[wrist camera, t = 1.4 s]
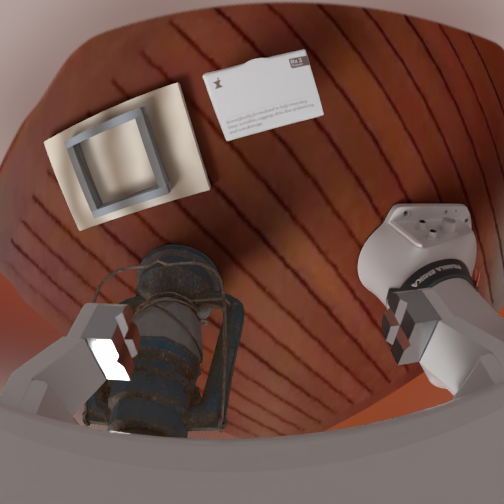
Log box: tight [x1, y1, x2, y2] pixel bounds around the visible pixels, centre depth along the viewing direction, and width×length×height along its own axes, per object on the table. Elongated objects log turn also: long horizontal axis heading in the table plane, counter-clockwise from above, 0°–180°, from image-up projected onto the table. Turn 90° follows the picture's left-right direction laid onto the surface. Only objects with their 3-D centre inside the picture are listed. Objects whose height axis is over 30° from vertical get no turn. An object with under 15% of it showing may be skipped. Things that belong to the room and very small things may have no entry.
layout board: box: [44, 82, 211, 231], centre depth 35 cm, size 20×14×4 cm
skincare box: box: [203, 49, 324, 141], centre depth 27 cm, size 8×6×15 cm
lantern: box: [82, 244, 244, 438], centre depth 32 cm, size 19×14×30 cm
